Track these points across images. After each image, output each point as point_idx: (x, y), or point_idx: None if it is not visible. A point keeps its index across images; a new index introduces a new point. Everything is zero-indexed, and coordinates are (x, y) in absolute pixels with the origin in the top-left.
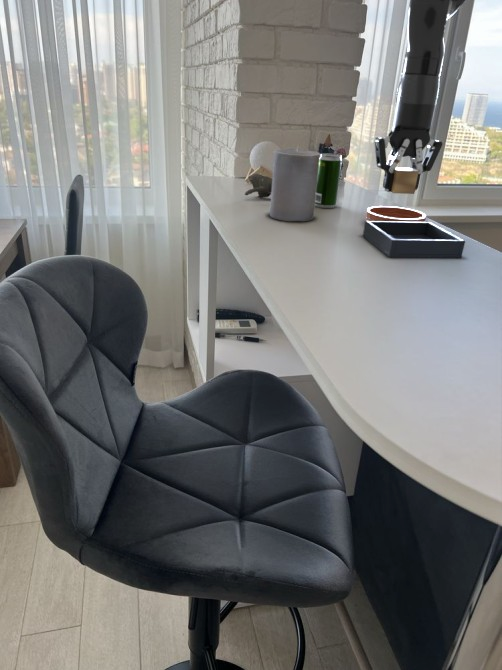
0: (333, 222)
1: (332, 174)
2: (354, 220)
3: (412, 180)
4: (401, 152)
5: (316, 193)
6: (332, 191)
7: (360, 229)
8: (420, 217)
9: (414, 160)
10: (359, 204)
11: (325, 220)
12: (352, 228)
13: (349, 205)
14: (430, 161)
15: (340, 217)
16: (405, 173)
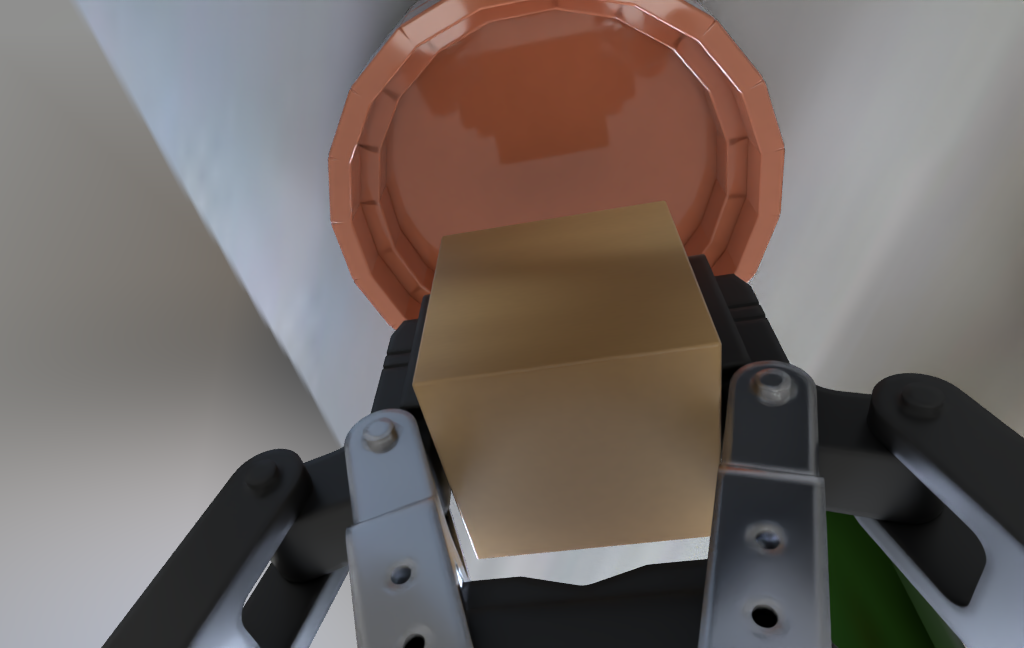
0: (957, 191)
1: None
2: (774, 274)
3: (479, 302)
4: (761, 588)
5: None
6: (850, 563)
7: (839, 29)
8: (362, 220)
9: (457, 561)
10: (613, 574)
11: (988, 231)
12: (893, 46)
13: (674, 551)
14: (229, 552)
15: (839, 324)
16: (589, 338)
